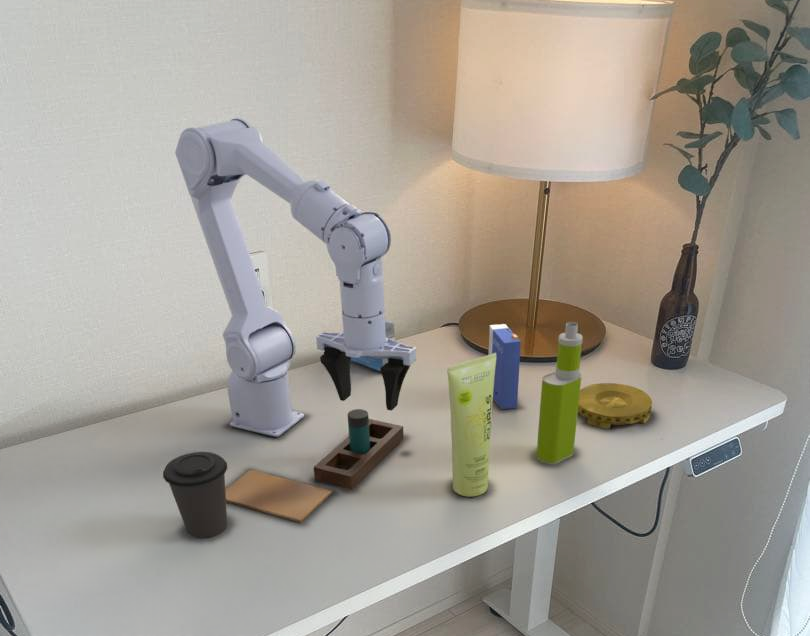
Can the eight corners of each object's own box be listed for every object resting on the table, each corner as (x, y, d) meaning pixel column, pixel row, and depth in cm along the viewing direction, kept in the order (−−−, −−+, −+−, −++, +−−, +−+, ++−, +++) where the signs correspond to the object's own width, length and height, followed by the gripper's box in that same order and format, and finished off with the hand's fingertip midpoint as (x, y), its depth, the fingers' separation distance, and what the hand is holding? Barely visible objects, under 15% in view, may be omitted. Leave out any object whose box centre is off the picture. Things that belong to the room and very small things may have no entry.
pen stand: (314, 480, 116) (313, 467, 115) (369, 430, 128) (368, 418, 126) (351, 489, 114) (350, 476, 112) (403, 438, 125) (403, 426, 124)
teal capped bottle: (347, 461, 120) (343, 416, 116) (357, 451, 122) (353, 407, 118) (364, 465, 119) (361, 420, 115) (374, 456, 121) (371, 411, 117)
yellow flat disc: (663, 423, 127) (665, 410, 126) (593, 433, 125) (594, 421, 124) (628, 391, 137) (630, 379, 135) (563, 400, 134) (564, 388, 133)
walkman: (517, 407, 133) (521, 338, 126) (501, 410, 132) (504, 340, 125) (502, 387, 139) (505, 321, 132) (486, 389, 139) (489, 322, 132)
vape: (578, 452, 120) (592, 324, 109) (550, 466, 117) (562, 335, 106) (559, 443, 123) (571, 316, 111) (532, 456, 120) (541, 327, 108)
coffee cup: (208, 551, 103) (194, 485, 97) (163, 533, 106) (146, 468, 100) (250, 519, 108) (239, 455, 102) (206, 503, 112) (193, 440, 106)
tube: (482, 502, 110) (486, 370, 99) (446, 497, 111) (447, 366, 100) (491, 481, 114) (496, 352, 103) (456, 476, 116) (458, 348, 104)
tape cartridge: (397, 366, 147) (394, 301, 140) (382, 373, 145) (379, 307, 138) (363, 354, 152) (359, 290, 145) (348, 360, 150) (343, 296, 143)
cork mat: (217, 498, 113) (216, 496, 112) (250, 471, 118) (250, 469, 118) (301, 522, 107) (300, 520, 107) (332, 493, 113) (331, 490, 113)
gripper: (301, 313, 107) (310, 405, 115) (398, 328, 102) (401, 424, 110) (328, 296, 112) (335, 385, 120) (422, 310, 107) (423, 402, 115)
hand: (368, 402), depth 115 cm, fingers open, 7 cm apart
